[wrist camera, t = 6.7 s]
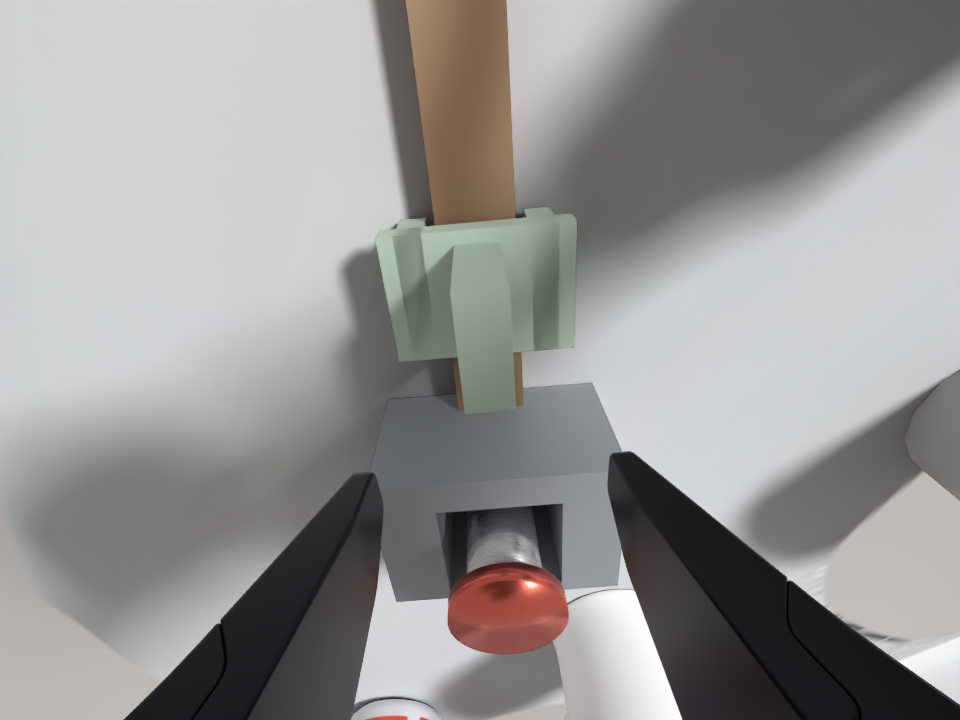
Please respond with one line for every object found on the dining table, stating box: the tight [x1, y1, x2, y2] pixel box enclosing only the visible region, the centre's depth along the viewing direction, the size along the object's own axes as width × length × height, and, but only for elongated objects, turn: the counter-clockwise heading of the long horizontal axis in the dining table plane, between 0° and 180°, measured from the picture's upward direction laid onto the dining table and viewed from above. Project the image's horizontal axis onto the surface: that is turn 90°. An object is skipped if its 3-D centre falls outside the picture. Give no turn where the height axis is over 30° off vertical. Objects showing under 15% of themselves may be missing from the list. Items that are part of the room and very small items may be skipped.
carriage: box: [375, 207, 577, 414], centre depth 16 cm, size 7×5×7 cm
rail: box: [406, 0, 523, 411], centre depth 17 cm, size 3×18×1 cm, turn 5°
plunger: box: [448, 506, 569, 654], centre depth 19 cm, size 4×4×6 cm
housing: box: [370, 383, 622, 602], centre depth 22 cm, size 10×7×6 cm
